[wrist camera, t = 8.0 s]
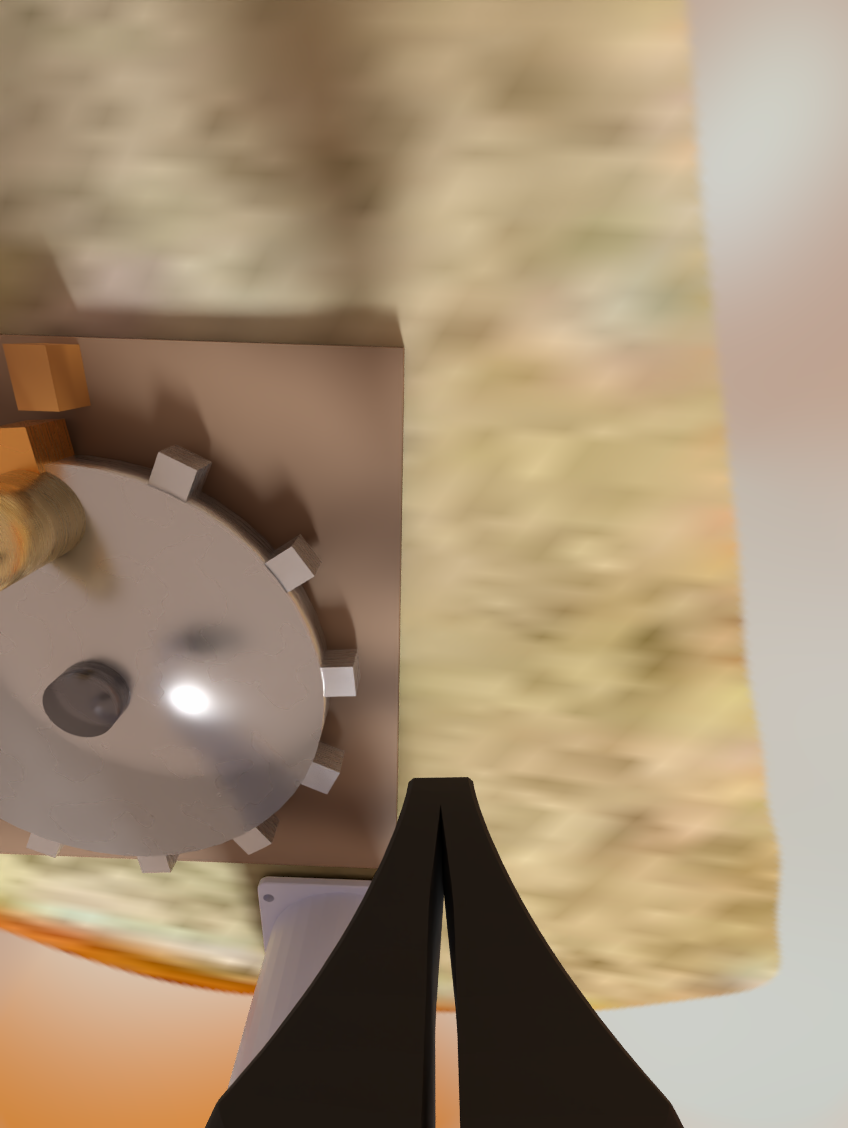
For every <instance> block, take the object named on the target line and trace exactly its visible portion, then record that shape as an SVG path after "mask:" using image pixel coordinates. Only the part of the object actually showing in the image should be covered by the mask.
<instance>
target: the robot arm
mask: <svg viewBox="0 0 848 1128" xmlns="http://www.w3.org/2000/svg"><path fill="white" fill-rule="evenodd" d="M258 898H259V906H260V914H261V923H262V931H263V940H264V948H265V956H264V960H263V963H262V967H261V970H260V974H259V978H258V981H257V985H256V989H255V992H254V996H253V999H252V1003H251V1007H250V1010H249V1014H248V1017H247V1021H246V1025H245V1028H244V1032H243V1035H242V1039H241V1043H240V1046H239V1050H238V1053H237V1057H236V1061H235V1065H234V1068H233V1071H232V1075H231V1079H230V1083H229V1086H228V1090H227V1091H226V1092H225V1093H224V1094H223V1095H222V1096H221V1098H220V1099H219V1100H218V1102H217V1104H216V1105H215V1108H214V1110H213V1112H212V1114H211V1116H210V1118H209V1120H208V1122H207V1124H206V1127H205V1128H435V1021H436V1002H437V987H438V973H439V959H440V945H441V930H442V916H443V901H444V899H445V909H446V919H447V929H448V939H449V948H450V958H451V968H452V977H453V987H454V997H455V1007H456V1019H457V1033H458V1067H459V1100H460V1128H684V1127H683V1125H682V1123H681V1121H680V1119H679V1117H678V1115H677V1114H676V1112H675V1110H674V1108H673V1106H672V1104H671V1103H670V1101H669V1100H668V1099H667V1098H666V1097H665V1096H664V1094H663V1093H662V1092H661V1091H660V1090H659V1089H658V1088H657V1086H656V1085H655V1084H654V1083H653V1082H652V1081H651V1080H650V1078H649V1077H648V1076H647V1075H646V1074H645V1073H644V1072H643V1070H642V1069H641V1068H640V1067H639V1066H638V1065H637V1063H636V1062H635V1061H634V1060H633V1058H632V1057H631V1056H630V1055H629V1054H628V1053H627V1051H626V1050H625V1049H624V1048H623V1047H622V1045H621V1044H620V1043H619V1041H617V1039H616V1038H615V1036H614V1035H613V1034H612V1033H611V1031H610V1030H609V1029H608V1028H607V1026H606V1025H605V1024H604V1023H603V1021H602V1020H601V1019H600V1018H599V1016H598V1015H597V1013H596V1012H595V1011H594V1009H593V1008H592V1007H591V1005H590V1004H589V1002H588V1001H587V1000H586V998H585V997H584V996H583V994H582V993H581V991H580V990H579V989H578V987H577V986H576V985H575V983H574V982H573V980H572V979H571V978H570V976H569V975H568V974H567V972H566V971H565V969H564V968H563V966H562V965H561V963H560V962H559V960H558V959H557V957H556V956H555V954H554V953H553V951H552V950H551V948H550V947H549V945H548V944H547V942H546V940H545V939H544V937H543V935H542V934H541V932H540V931H539V929H538V927H537V926H536V924H535V922H534V921H533V919H532V917H531V916H530V914H529V912H528V910H527V909H526V907H525V905H524V903H523V901H522V900H521V898H520V896H519V894H518V892H517V890H516V888H515V887H514V885H513V883H512V881H511V879H510V877H509V875H508V873H507V871H506V869H505V867H504V865H503V863H502V861H501V858H500V856H499V854H498V852H497V850H496V847H495V845H494V843H493V841H492V838H491V836H490V834H489V831H488V829H487V826H486V824H485V821H484V818H483V816H482V813H481V810H480V807H479V804H478V801H477V797H476V793H475V790H474V784H473V781H472V780H471V779H470V778H468V777H452V778H413V779H412V780H411V781H410V782H409V783H408V788H407V793H406V797H405V800H404V804H403V807H402V810H401V813H400V816H399V819H398V822H397V824H396V827H395V830H394V832H393V835H392V837H391V839H390V842H389V844H388V847H387V849H386V851H385V854H384V856H383V858H382V861H381V863H380V865H379V867H378V869H377V871H376V873H375V875H374V877H373V879H372V880H349V879H324V878H299V877H274V876H268V877H264V878H262V879H261V880H260V882H259V885H258Z"/></svg>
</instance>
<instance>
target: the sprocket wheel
mask: <svg viewBox="0 0 848 1128" xmlns="http://www.w3.org/2000/svg"><path fill="white" fill-rule="evenodd" d="M211 464H212V462H211V461H209V460H207V459H205V458H203V457H201V456H199V455H196V454H194V453H192V452H190V451H188V450H186V449H184V448H182V447H180V446H178V445H174V446H171V447H169V448H167V449H164V450H162V451H159V452H158V455H157V458H156V461H155V464H154V467H153V469H150V468H147V467H143V466H140V465H136V464H133V463H129V462H125V461H122V460H116V459H109V458H103V457H96V456H90V455H75V454H74V451H73V447H72V444H71V440H70V437H69V433H68V429H67V426H66V422H65V419H45V420H26V421H21V422H16V423H11V424H6V425H2V426H0V819H2V820H4V821H6V822H8V823H10V824H12V825H14V826H16V827H18V828H20V829H23V830H25V831H28V832H30V833H31V834H30V837H29V840H28V843H27V846H26V848H29V849H32V850H34V851H37V852H40V853H43V854H46V855H49V856H51V857H54V858H55V857H56V856H57V855H58V853H59V852H60V851H61V849H62V848H63V847H64V845H67V846H71V847H75V848H80V849H84V850H89V851H94V852H99V853H107V854H115V855H123V856H137V858H138V861H139V864H140V867H141V870H142V873H157V872H171V871H172V869H173V867H174V865H175V863H176V860H177V858H178V856H179V854H181V853H187V852H193V851H198V850H202V849H205V848H209V847H212V846H216V845H219V844H222V843H224V842H227V841H229V840H231V839H233V840H234V841H235V842H236V843H237V844H238V845H239V846H240V847H241V848H242V849H243V850H244V851H245V852H246V853H247V854H248V855H250V854H252V853H254V852H256V851H258V850H260V849H262V848H264V847H266V846H268V845H270V844H272V842H273V839H274V836H275V832H276V829H277V826H278V823H279V819H278V817H277V816H276V815H275V814H274V813H275V812H277V811H278V810H279V809H280V808H281V807H282V806H283V805H284V804H285V803H286V802H287V801H288V799H289V798H290V797H291V796H292V795H293V794H294V793H295V791H296V790H297V788H298V787H299V785H300V784H302V785H305V786H307V787H310V788H312V789H315V790H317V791H320V792H322V793H325V794H328V792H329V790H330V789H331V787H332V785H333V784H334V782H335V780H336V779H337V777H338V775H339V774H340V770H341V766H342V761H343V757H344V752H345V751H344V750H341V749H339V748H337V747H334V746H332V745H329V744H327V743H325V742H322V741H320V737H321V734H322V730H323V727H324V723H325V719H326V716H327V712H328V708H329V700H330V697H337V696H356V694H357V689H358V685H359V680H360V669H359V659H358V649H329V650H327V645H326V640H325V636H324V633H323V630H322V627H321V624H320V622H319V619H318V616H317V613H316V611H315V609H314V607H313V605H312V603H311V601H310V599H309V597H308V595H307V593H306V591H305V589H304V587H303V586H302V583H304V582H306V581H307V580H309V579H311V578H312V577H314V576H315V574H316V572H317V570H318V568H319V566H320V564H321V561H320V559H319V558H318V557H317V555H316V554H315V553H314V551H313V550H312V549H311V547H310V546H309V545H308V543H307V542H306V541H305V539H304V538H303V537H302V535H301V534H299V535H298V536H296V537H295V538H293V539H292V540H290V541H288V542H287V543H285V544H284V545H282V546H280V547H279V548H277V549H276V550H275V549H274V548H273V547H272V546H271V544H270V543H269V542H268V541H267V540H266V539H265V538H264V537H263V536H262V535H261V534H259V533H258V532H257V531H256V530H255V529H254V528H253V527H252V526H251V525H249V524H248V523H247V522H246V521H245V520H244V519H243V518H242V517H240V516H239V515H237V514H236V513H234V512H233V511H232V510H230V509H229V508H227V507H226V506H225V505H223V504H222V503H220V502H219V501H218V500H216V499H215V498H213V497H211V496H209V495H207V494H206V493H204V492H202V488H203V485H204V483H205V480H206V477H207V475H208V472H209V469H210V467H211Z"/></svg>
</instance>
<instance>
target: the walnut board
mask: <svg viewBox="0 0 848 1128" xmlns="http://www.w3.org/2000/svg"><path fill="white" fill-rule="evenodd" d="M404 349H405V348H401V347H370V346H339V345H309V344H278V343H248V342H217V341H187V340H156V339H126V338H95V337H65V336H34V335H4V334H0V426H2V425H6V424H11V423H16V422H21V421H26V420H45V419H65V422H66V426H67V429H68V433H69V437H70V440H71V444H72V447H73V451H74V454H75V455H90V456H96V457H103V458H109V459H116V460H122V461H125V462H129V463H133V464H136V465H140V466H143V467H147V468H150V469H153V467H154V464H155V461H156V458H157V455H158V452H159V451H162V450H164V449H167V448H169V447H171V446H174V445H178V446H180V447H182V448H184V449H186V450H188V451H190V452H192V453H194V454H196V455H199V456H201V457H203V458H205V459H207V460H209V461H211V462H212V464H211V467H210V469H209V472H208V475H207V477H206V480H205V483H204V485H203V488H202V492H204V493H206V494H207V495H209V496H211V497H213V498H215V499H216V500H218V501H219V502H220V503H222V504H223V505H225V506H226V507H227V508H229V509H230V510H232V511H233V512H234V513H236V514H237V515H239V516H240V517H242V518H243V519H244V520H245V521H246V522H247V523H248V524H249V525H251V526H252V527H253V528H254V529H255V530H256V531H257V532H258V533H259V534H261V535H262V536H263V537H264V538H265V539H266V540H267V541H268V542H269V543H270V544H271V546H272V547H273V548H274V549H275V550H276V549H277V548H279V547H280V546H282V545H284V544H285V543H287V542H288V541H290V540H292V539H293V538H295V537H296V536H298V535H299V534H301V535H302V537H303V538H304V539H305V541H306V542H307V543H308V545H309V546H310V547H311V549H312V550H313V551H314V553H315V554H316V555H317V557H318V558H319V559H320V561H321V564H320V566H319V568H318V570H317V572H316V574H315V576H314V577H312V578H311V579H309V580H307V581H306V582H304V583H302V586H303V587H304V589H305V591H306V593H307V595H308V597H309V599H310V601H311V603H312V605H313V607H314V609H315V611H316V613H317V616H318V619H319V622H320V624H321V627H322V630H323V633H324V636H325V640H326V645H327V650H329V649H358V659H359V669H360V680H359V685H358V689H357V694H356V696H337V697H330V700H329V708H328V712H327V716H326V719H325V723H324V727H323V730H322V734H321V737H320V741H322V742H325V743H327V744H329V745H332V746H334V747H337V748H339V749H341V750H344V751H345V752H344V757H343V761H342V766H341V770H340V774H339V775H338V777H337V779H336V780H335V782H334V784H333V785H332V787H331V789H330V790H329V792H328V794H325V793H322V792H320V791H317V790H315V789H312V788H310V787H307V786H305V785H302V784H300V785H299V787H298V788H297V790H296V791H295V793H294V794H293V795H292V796H291V797H290V798H289V799H288V801H287V802H286V803H285V804H284V805H283V806H282V807H281V808H280V809H279V810H278V811H277V812H275V813H274V814H275V815H276V816H277V817H278V819H279V823H278V826H277V829H276V832H275V836H274V839H273V842H272V844H270V845H268V846H266V847H264V848H262V849H260V850H258V851H256V852H254V853H252V854H250V855H248V854H247V853H246V852H245V851H244V850H243V849H242V848H241V847H240V846H239V845H238V844H237V843H236V842H235V841H234V840H233V839H231V840H229V841H227V842H224V843H222V844H219V845H216V846H212V847H209V848H205V849H202V850H198V851H193V852H187V853H181V854H179V856H178V858H177V860H178V861H203V862H228V863H254V864H279V865H304V866H329V867H355V868H378V867H379V865H380V863H381V861H382V858H383V856H384V854H385V851H386V849H387V847H388V844H389V842H390V839H391V837H392V835H393V832H394V830H395V827H396V824H397V793H398V730H399V666H400V603H401V539H402V476H403V412H404ZM30 834H31V833H30V832H28V831H25V830H23V829H20V828H18V827H16V826H14V825H12V824H10V823H8V822H6V821H4V820H2V819H0V853H1V854H26V855H46V854H43V853H40V852H37V851H34V850H32V849H29V848H26V846H27V843H28V840H29V837H30ZM57 856H77V857H102V858H127V859H138V858H137V856H123V855H115V854H107V853H99V852H94V851H89V850H84V849H80V848H75V847H71V846H67V845H64V847H63V848H62V849H61V851H60V852H59V853H58V855H57Z"/></svg>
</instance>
